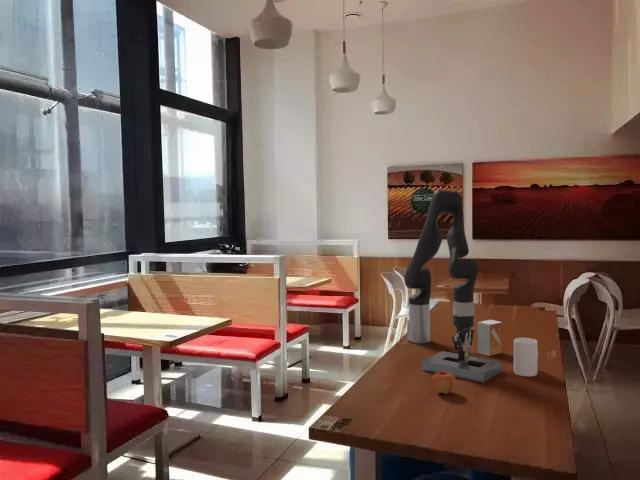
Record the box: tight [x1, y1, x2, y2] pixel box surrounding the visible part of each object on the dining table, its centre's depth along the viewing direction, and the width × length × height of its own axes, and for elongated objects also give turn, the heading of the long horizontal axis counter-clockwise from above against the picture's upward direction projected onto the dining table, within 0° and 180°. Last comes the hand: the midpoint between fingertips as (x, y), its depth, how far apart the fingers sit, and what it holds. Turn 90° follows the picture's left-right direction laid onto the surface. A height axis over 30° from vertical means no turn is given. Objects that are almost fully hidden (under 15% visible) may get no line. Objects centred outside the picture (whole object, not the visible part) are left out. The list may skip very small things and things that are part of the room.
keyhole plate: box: [421, 350, 503, 384], centre depth 197 cm, size 24×16×4 cm, turn 49°
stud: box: [460, 338, 470, 366], centre depth 197 cm, size 5×5×12 cm
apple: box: [432, 368, 457, 395], centre depth 175 cm, size 7×7×8 cm
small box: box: [477, 319, 503, 357], centre depth 219 cm, size 8×6×13 cm
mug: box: [513, 337, 539, 377], centre depth 195 cm, size 8×12×12 cm
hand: (463, 359), depth 197 cm, fingers closed on stud, 3 cm apart
